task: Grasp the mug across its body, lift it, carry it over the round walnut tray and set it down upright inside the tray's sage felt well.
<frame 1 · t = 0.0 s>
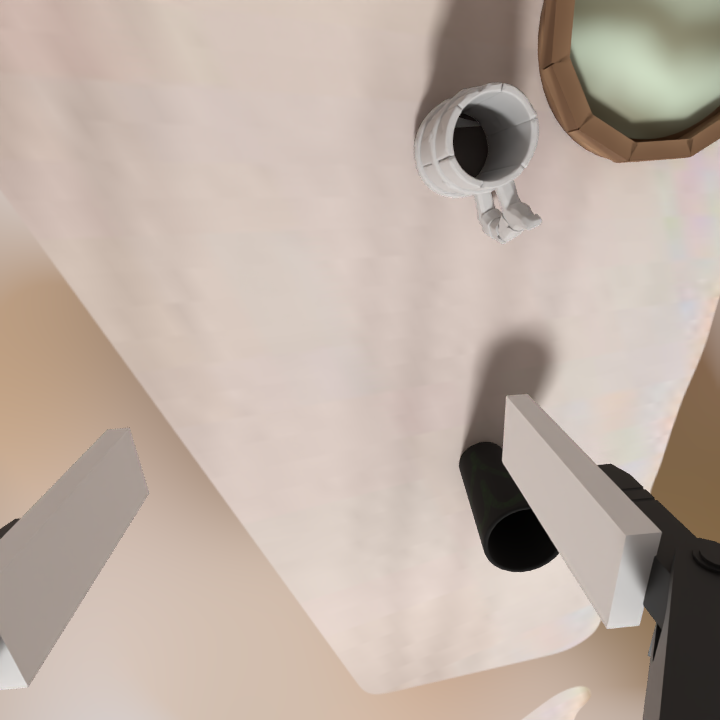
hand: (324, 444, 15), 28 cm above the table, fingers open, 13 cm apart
mug: (462, 174, 38), on the table
cup: (482, 461, 50), on the table
tray: (658, 27, 35), on the table
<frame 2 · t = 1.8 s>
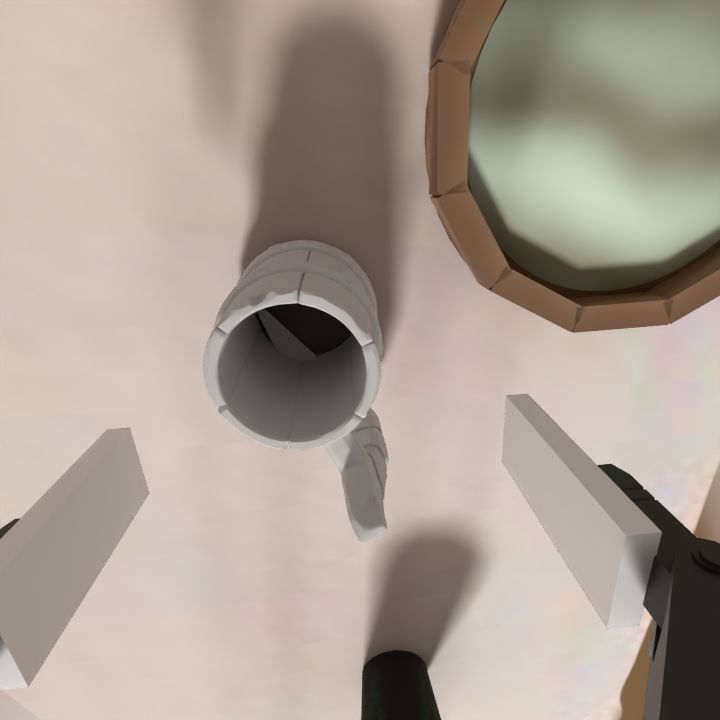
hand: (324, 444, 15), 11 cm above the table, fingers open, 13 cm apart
mug: (325, 334, 25), on the table
cup: (394, 669, 37), on the table
tray: (618, 125, 22), on the table
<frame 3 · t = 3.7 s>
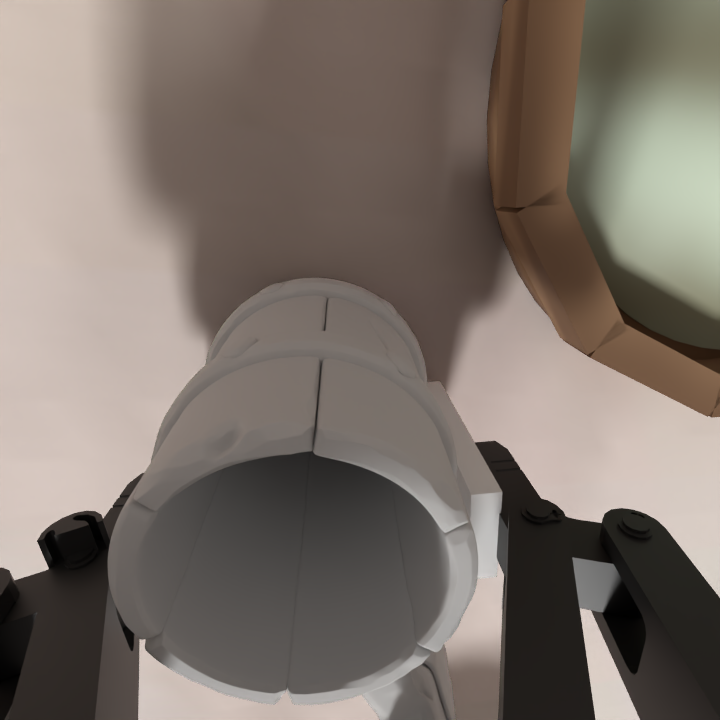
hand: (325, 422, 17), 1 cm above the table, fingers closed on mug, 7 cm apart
mug: (343, 409, 17), on the table, touching gripper
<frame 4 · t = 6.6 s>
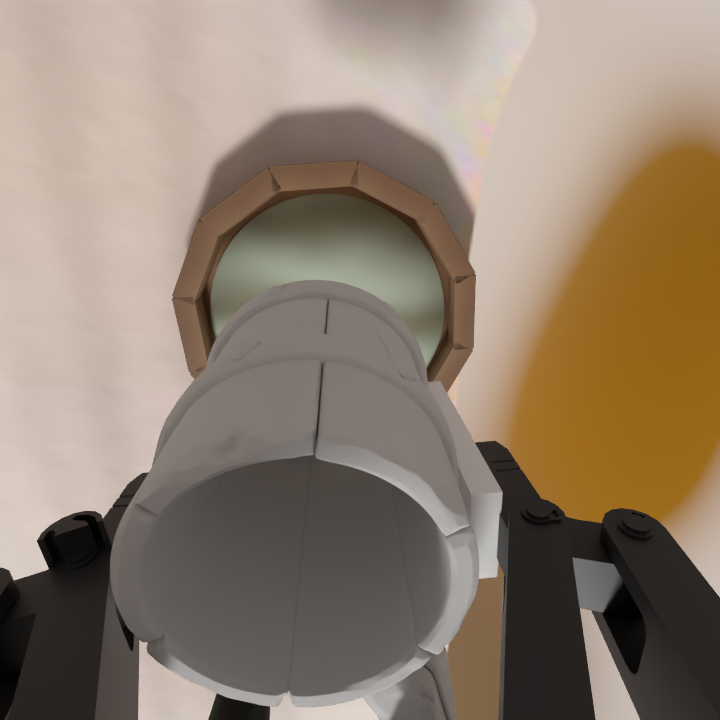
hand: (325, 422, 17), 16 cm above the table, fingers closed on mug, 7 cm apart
mug: (343, 410, 17), point 15 cm above the table, touching gripper
cup: (245, 688, 46), on the table
tray: (329, 313, 32), on the table
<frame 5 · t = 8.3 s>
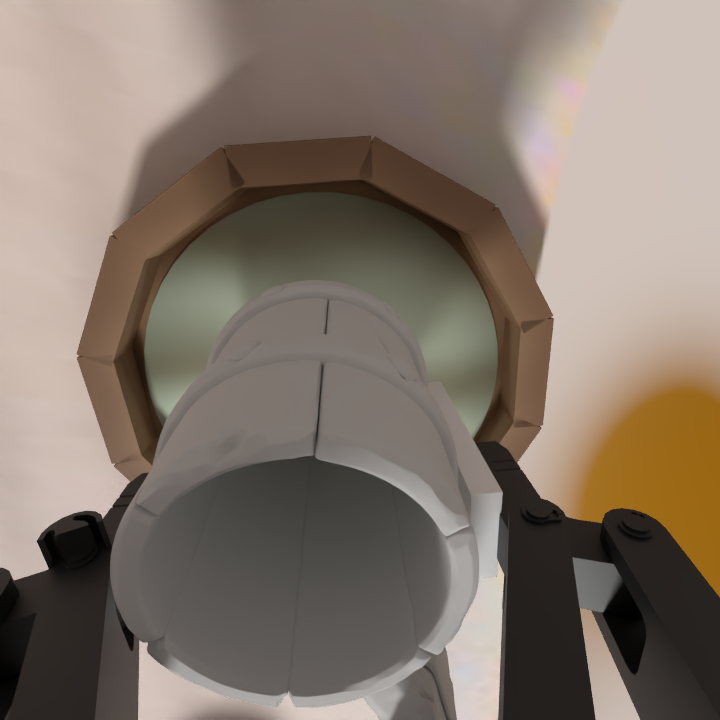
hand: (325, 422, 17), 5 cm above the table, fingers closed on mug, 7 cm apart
mug: (343, 411, 17), point 4 cm above the table, touching gripper
tray: (326, 369, 21), on the table
when the fingers open (4 cm above the table, at t = 9.5 s): mug drops 2 cm, resting on tray.
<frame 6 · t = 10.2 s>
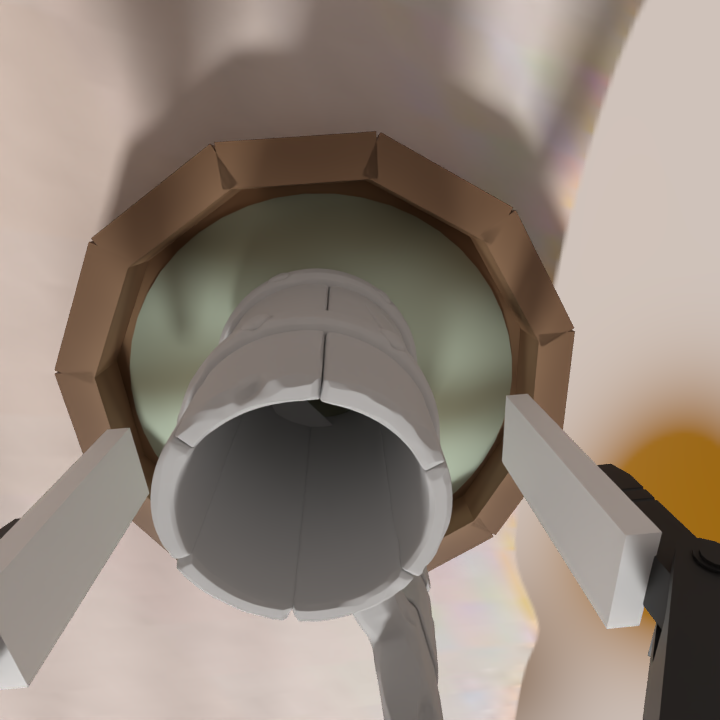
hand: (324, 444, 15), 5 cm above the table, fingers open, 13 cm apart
mug: (341, 390, 19), point 1 cm above the table, touching tray
tray: (326, 383, 20), on the table
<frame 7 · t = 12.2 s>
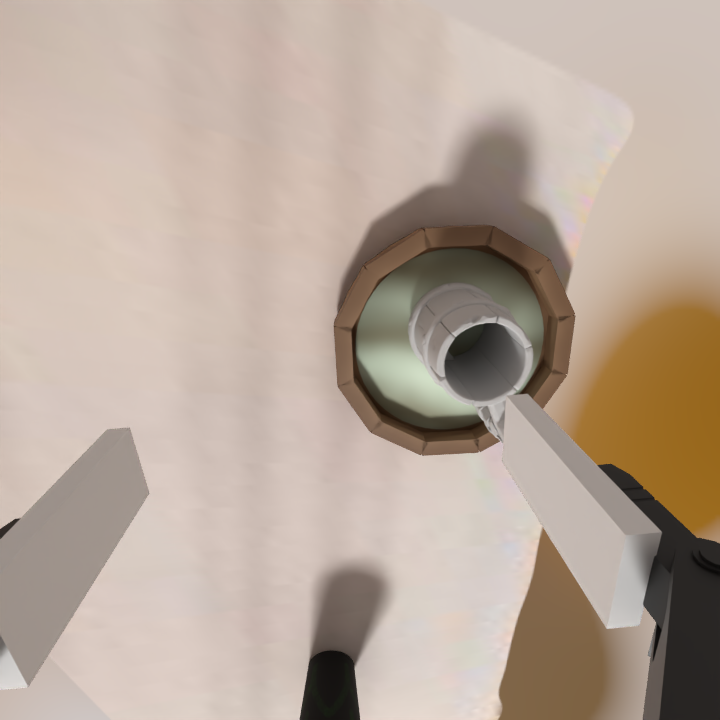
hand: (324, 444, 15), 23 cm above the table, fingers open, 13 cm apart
mug: (456, 344, 38), point 1 cm above the table, touching tray
cup: (331, 665, 52), on the table
tray: (446, 341, 39), on the table
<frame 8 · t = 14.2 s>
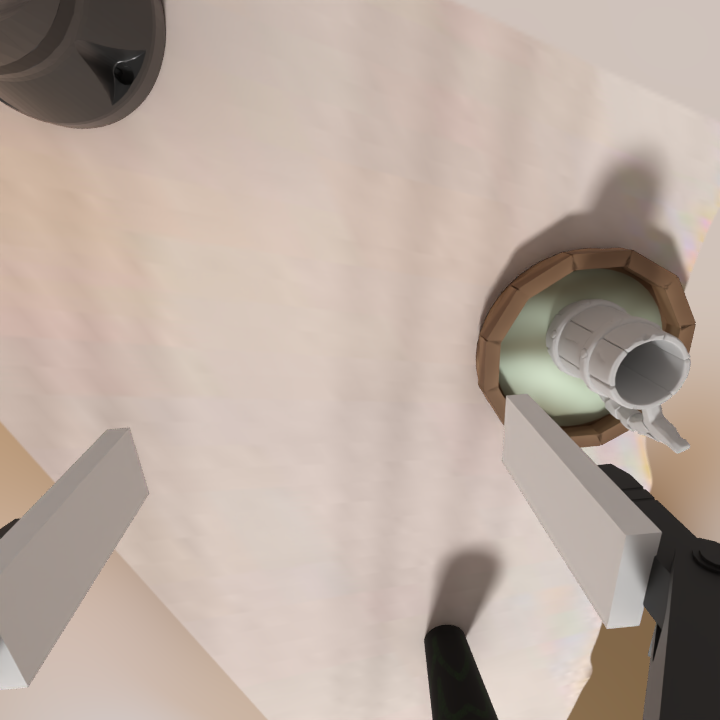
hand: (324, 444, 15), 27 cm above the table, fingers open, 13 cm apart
mug: (584, 351, 43), point 1 cm above the table, touching tray
cup: (444, 638, 58), on the table
tray: (572, 348, 43), on the table
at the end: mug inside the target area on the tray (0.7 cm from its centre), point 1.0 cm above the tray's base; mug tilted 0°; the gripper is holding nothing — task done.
